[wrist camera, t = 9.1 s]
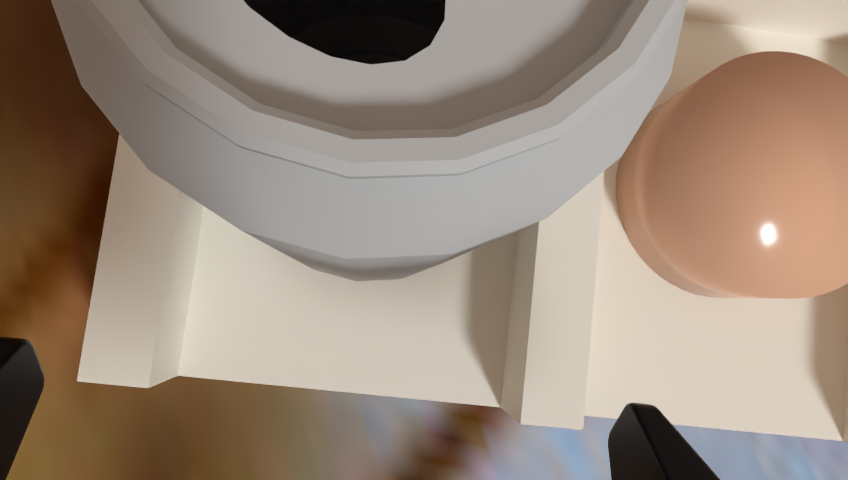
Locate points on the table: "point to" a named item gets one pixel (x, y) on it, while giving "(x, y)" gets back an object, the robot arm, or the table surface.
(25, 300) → the table surface
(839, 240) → the terracotta dish
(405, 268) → the can
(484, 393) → the divider tray
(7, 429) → the robot arm
